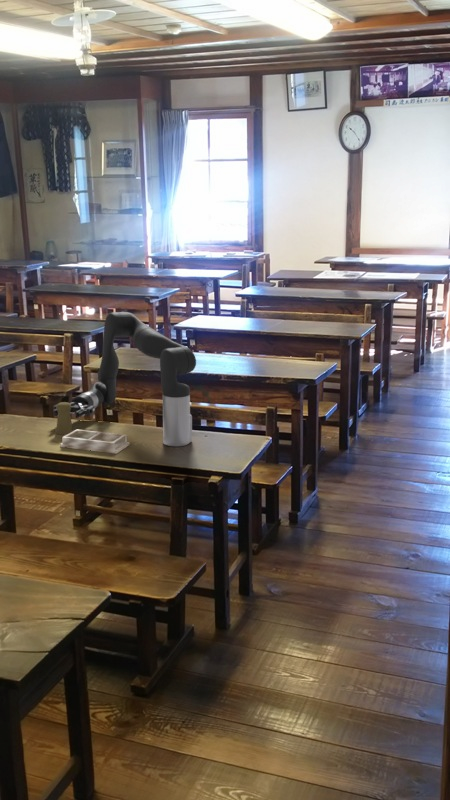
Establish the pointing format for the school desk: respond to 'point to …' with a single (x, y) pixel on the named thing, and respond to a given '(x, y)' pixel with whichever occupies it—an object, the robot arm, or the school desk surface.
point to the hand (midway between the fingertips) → (65, 414)
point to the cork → (64, 419)
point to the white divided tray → (95, 441)
